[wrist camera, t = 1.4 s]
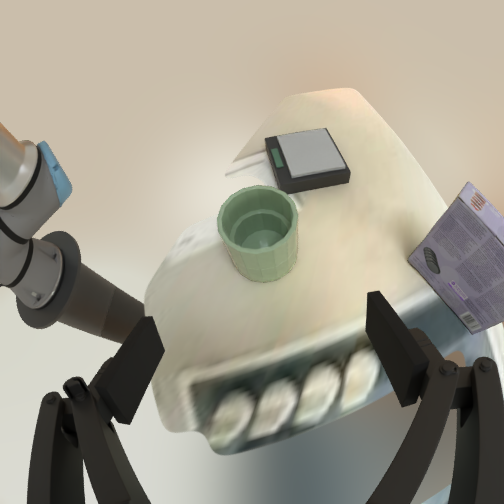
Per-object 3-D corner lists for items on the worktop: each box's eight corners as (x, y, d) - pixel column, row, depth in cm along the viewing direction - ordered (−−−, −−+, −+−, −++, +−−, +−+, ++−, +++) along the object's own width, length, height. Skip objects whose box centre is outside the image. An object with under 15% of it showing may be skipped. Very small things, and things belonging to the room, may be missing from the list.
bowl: (226, 277, 43) (207, 246, 34) (241, 222, 48) (229, 182, 38) (291, 288, 41) (290, 259, 32) (301, 229, 45) (302, 189, 36)
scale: (281, 196, 49) (279, 182, 45) (266, 148, 55) (264, 135, 51) (348, 182, 48) (351, 169, 45) (325, 138, 54) (326, 124, 51)
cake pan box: (488, 319, 33) (555, 281, 17) (475, 341, 32) (547, 310, 16) (420, 243, 41) (466, 176, 25) (405, 261, 40) (452, 195, 24)
